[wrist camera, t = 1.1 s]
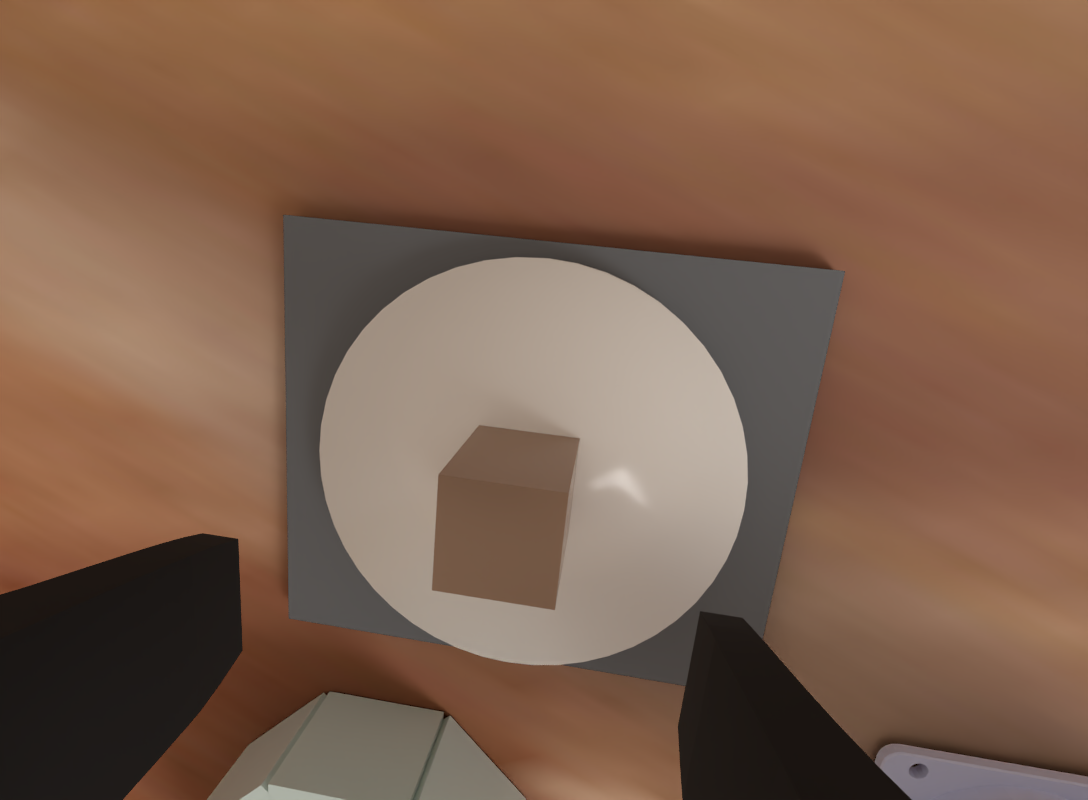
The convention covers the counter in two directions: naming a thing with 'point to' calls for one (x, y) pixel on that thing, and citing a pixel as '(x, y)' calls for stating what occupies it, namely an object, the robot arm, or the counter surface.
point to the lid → (533, 461)
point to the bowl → (364, 757)
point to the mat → (674, 280)
